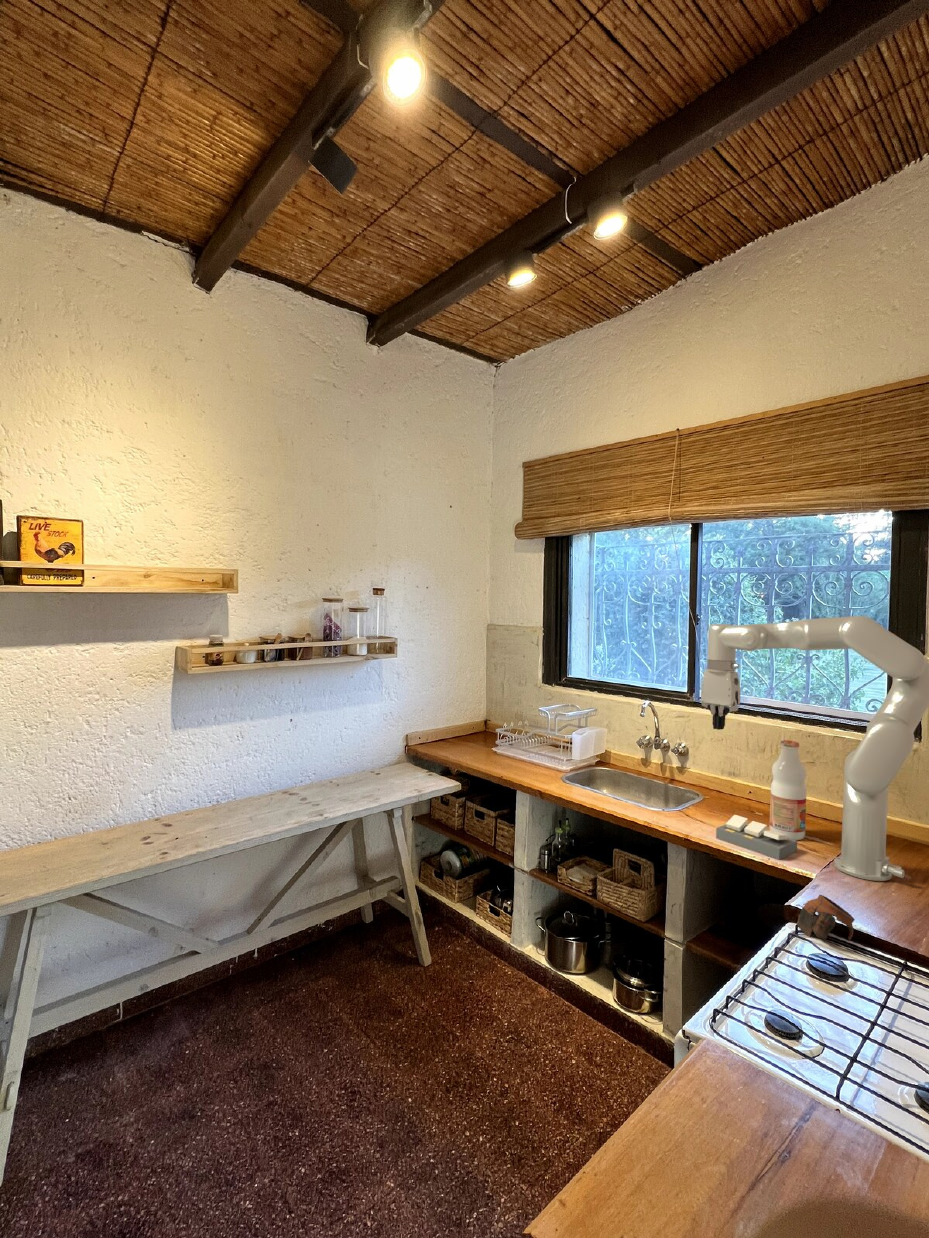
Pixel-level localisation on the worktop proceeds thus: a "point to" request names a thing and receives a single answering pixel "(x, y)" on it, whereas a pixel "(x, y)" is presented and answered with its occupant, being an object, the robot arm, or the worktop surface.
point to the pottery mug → (823, 917)
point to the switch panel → (758, 842)
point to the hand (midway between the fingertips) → (718, 728)
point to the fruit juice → (788, 793)
